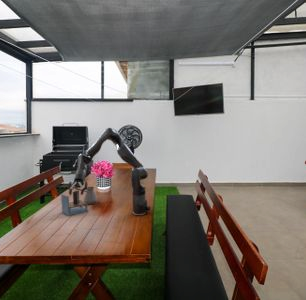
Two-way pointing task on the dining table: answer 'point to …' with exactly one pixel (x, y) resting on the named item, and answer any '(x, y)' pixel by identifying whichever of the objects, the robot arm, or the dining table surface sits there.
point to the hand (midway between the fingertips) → (75, 194)
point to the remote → (76, 197)
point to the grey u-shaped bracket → (72, 206)
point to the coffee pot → (89, 195)
